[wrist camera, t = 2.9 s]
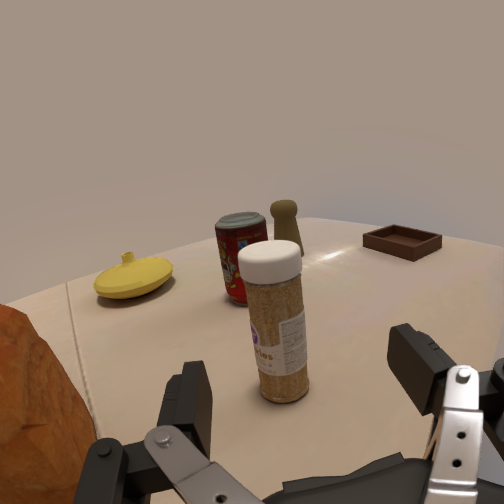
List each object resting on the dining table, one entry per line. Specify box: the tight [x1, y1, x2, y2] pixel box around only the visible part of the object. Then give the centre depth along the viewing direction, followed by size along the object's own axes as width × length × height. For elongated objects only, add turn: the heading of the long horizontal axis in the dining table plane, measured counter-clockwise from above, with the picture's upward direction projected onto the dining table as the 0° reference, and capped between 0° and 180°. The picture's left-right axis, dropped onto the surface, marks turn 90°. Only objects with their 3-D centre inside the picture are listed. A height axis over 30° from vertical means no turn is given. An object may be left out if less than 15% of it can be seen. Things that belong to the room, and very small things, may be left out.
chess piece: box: [270, 200, 304, 257], centre depth 60 cm, size 6×6×11 cm
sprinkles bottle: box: [238, 240, 309, 403], centre depth 24 cm, size 5×5×13 cm
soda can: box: [215, 212, 268, 306], centre depth 44 cm, size 7×7×12 cm
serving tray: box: [363, 225, 442, 261], centre depth 56 cm, size 13×10×3 cm
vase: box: [94, 252, 173, 299], centre depth 54 cm, size 16×16×7 cm
